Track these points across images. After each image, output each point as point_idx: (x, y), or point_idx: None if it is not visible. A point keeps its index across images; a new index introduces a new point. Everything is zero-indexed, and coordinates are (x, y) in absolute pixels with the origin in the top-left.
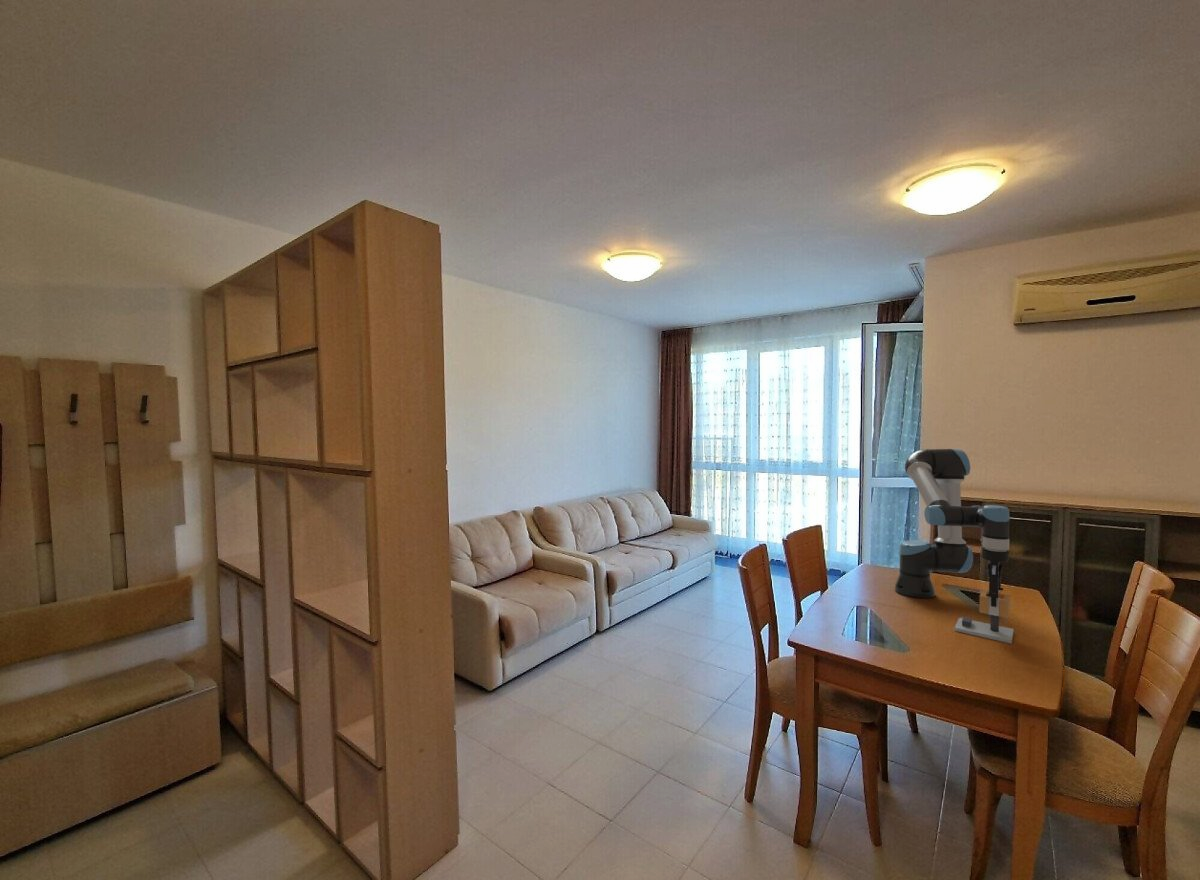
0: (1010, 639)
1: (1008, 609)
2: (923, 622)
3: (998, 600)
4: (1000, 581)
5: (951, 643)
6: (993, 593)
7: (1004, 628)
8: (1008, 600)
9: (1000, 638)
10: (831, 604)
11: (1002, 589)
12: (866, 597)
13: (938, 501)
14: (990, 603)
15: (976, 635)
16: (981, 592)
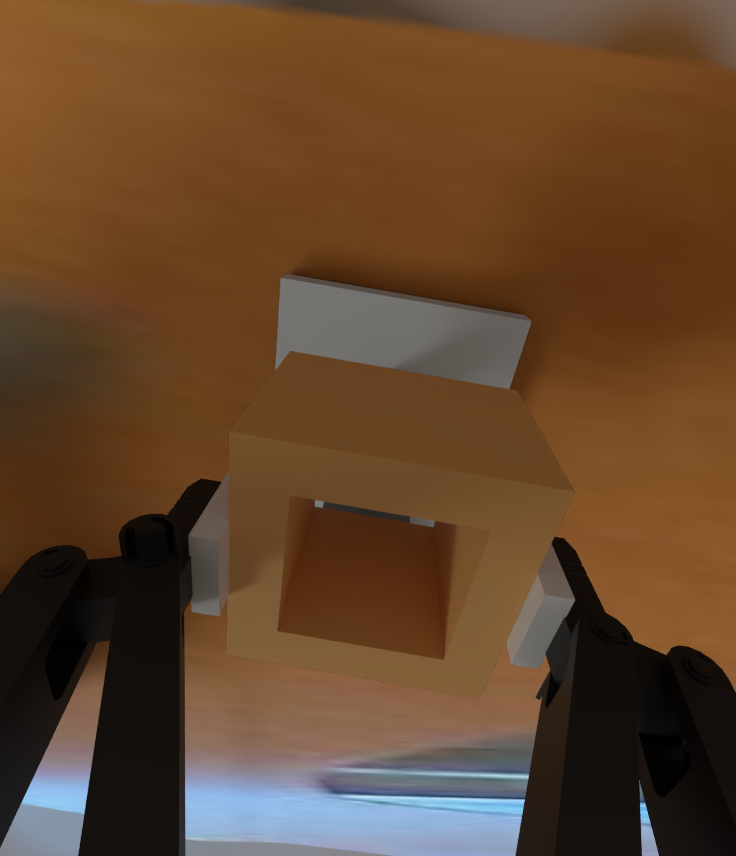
0: (519, 326)
1: (537, 430)
2: None
3: (564, 575)
4: (35, 645)
5: (633, 576)
6: (282, 582)
7: (307, 333)
8: (544, 489)
9: (510, 377)
10: (367, 837)
11: (163, 534)
12: (203, 770)
13: None
14: None
15: None
16: (329, 669)
